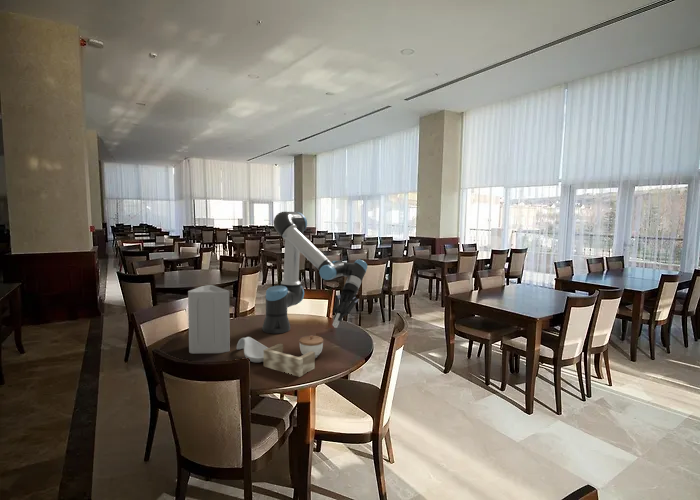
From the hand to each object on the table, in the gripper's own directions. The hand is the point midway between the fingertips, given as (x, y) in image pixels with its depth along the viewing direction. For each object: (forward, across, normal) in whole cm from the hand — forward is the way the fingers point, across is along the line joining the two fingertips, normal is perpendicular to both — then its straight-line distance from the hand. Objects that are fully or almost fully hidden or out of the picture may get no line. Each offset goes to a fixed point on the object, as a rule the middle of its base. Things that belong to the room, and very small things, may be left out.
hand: (334, 326), depth 184 cm
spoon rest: (+28, +25, +14) cm, 40 cm away
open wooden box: (+29, +3, +15) cm, 32 cm away
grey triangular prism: (+31, +49, +18) cm, 61 cm away
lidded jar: (+18, +3, +4) cm, 19 cm away
